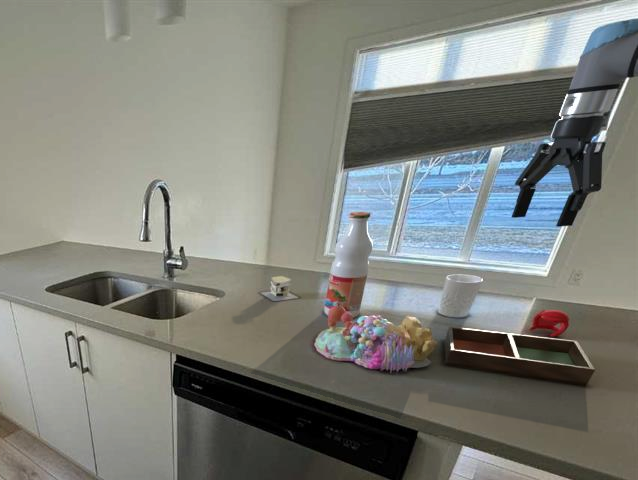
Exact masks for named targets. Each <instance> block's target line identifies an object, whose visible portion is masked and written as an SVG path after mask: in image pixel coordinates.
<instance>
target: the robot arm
mask: <svg viewBox="0 0 638 480" xmlns="http://www.w3.org/2000/svg"><path fill="white" fill-rule="evenodd" d="M573 74H574V75H573V77H572V79H571V83H570V86H569V88H568V90H567V93H566V96H565V99H564V100H563V104H562V106H561V108H560V112H559V114H558V115H559V116H560V117H561V119H558V120H557V121H555V124H554V127H553V130H552V132H551V133H550V134H551V135H550V139H552V140H553V141H552V142H551V141H550V142H542V143H539V146H538V148H537V150H536V152H535V154H534V155H533V157H532V158H531V160H530V161H529V162H528V164H527V165H526V166H525V168H524V169H523V171H522V172H521V174H520V175H519V176H518V178H517V179H516V180H515V182H514V186H518V188H519V192H518V195H517V198H516V203H515V206H514V208H513V211H512V213H511V218H513V219H514V218H515V219H517V218H526V216H527V213H528V210H529V208H530V205H531V202H532V200H533V197H534V195H535V192H536V189H537V188H536V187H537V184H538V183H539V182H540V181H541V180H543V178H544V177H546V176H547V175H548V174H549V173H550V172H551V171H552V170H553V169H554V168H555V167H557V166H560V167H564V168H565V169H567V170H568V174H569V179H570V183H571V187H572V192H571V193H570V194H568V197H567V199H566V201H565V204H564V206H563V208H562V210H561V213H560V215H559V217H558V220H557V223H556V225H555V227H558V228H559V227H572V226H573V224H574V222H575V220H576V218H577V215H578V213H579V211H581V210H582V209H583V206H584V204H585V201H586V199H587V197H588V195H589V194H592V193H595V192H597V193H598V192H600V191H601V189H602V182H603V180H602V178H603V177H602V175H603V153H604V150H605V147H606V143H607V142H606V141H603V140H602V141H593V140H592V139H593V138H594V137H596V136H598V135H599V134H600V132H601V130H602V128H603V125H604V123H605V121H606V118H607V117H606V115H604V114H605V113H608V112H609V111H610V110H611V108H612V105H613V103H614V100H615V98H616V95H617V94H618V91H619V89H620V85H621V83H622V81H623V79H627V78H628V79H630V78H631V79H633V78H637V77H638V18H631V19H630V18H629V19H625V20H618V21H614V22H610V23H605V24H603V25H600V26H598V27H597V28H595V29H594V30H593V31H592V32H591V33H590V35H589V37H588V39H587V41H586V43H585V46H584V49H583V50H582V53H581V55H580V56H579V60H578V62H577V66H576V69H575V72H574V73H573Z"/></svg>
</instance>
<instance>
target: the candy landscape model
mask: <svg viewBox="0 0 638 480" xmlns="http://www.w3.org/2000/svg"><path fill="white" fill-rule="evenodd" d="M353 319H354V318H353V316H352V314H351V313H346V311H345V309H344V308H343V307H342V306H338V305H337V306H334V307H332V308H331V309H330V310H329V312H328V315H327V326H328V327H329V328H326V329H324V330H322V331H321V332H319V333H318V335H317V337H316V338H315V342H314V344H313V345H314V347H315V349H316V351H317V353H319V354H321V355H322V356H324V357H325V358H327V359H330V360H332V361H339V362H342V361H343V362H344V361H345V362H354V363H355V364H357V365H359V366H362V367H364V368H366V369H370V370H380V372H381V371H384V370H386V371H389V370H390V371H389V373H390V374H391V373H392V371H396V372H397V373H398V372H399V370H402V371H404V372H407V370H408V369H410V368H411V369H412V368H415V369H419V368H424V367H425V368H426V367H427V366H428V365H430V364H431V363H432V361H431V360H430V359H428V357H429V356H430V355H431V353H432V352H433V351H434V349H435V348H436V345H437V344H438V342H437V340H436V339H433V338H432V334H433V331H432V329H430V328H428V327H424V328H423V327H422V324H421V322H420V320H419V319H418V318H417V317H415V316H409V315H406V316H405V317H404V319H403V320H402V322H401V324H399V325H397V326H395V325H394V323H392V322H391V321H388V320H387V319H386V318H382V316H381V315H376V316H375V315H369V316H367V315H362V316H360V317H359V318H358V319H357V320H356V321H355V322H354V323H353V322H352V321H353ZM340 321H341V322H342V323H344V327H343V326H342V327H341V326H340V327H335V326H336V325H337V323H338V322H340Z"/></svg>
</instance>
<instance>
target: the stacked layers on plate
mask: <svg viewBox="0 0 638 480" xmlns="http://www.w3.org/2000/svg"><path fill="white" fill-rule="evenodd" d="M270 279H271V281H270V283H271V286H270V287H269V288H270V291H263V292H260V294H261V295H263V296H264V297H266V298H268V299H269V300H270V301H273V302H279V301H286V300H293V299H299V297H298V296H297V295H295V294H293V293H291V292H290V291H291V289H290V286H291V285H292V284H291V282H290V281H292V279H291V278H288V277H287V276H286V277H285V276H283V275H280V276H279V275H277V276H272V277H270Z"/></svg>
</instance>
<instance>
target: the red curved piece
mask: <svg viewBox="0 0 638 480" xmlns="http://www.w3.org/2000/svg"><path fill="white" fill-rule="evenodd" d="M569 322H570V318H569V316H568V315H567V314H566V313H565V312H563V311H561V310H557V309H556V310H555V309H551V310H545V309H543V310H541V311H539V312H538V313H536V315H535V316H533V320H532V326H531V327H530V328H529V331H534V330H539V329H540V330H541V329H542V330H549V331H553V332H552V333H551V334H550V335H549V336H550V338H554V337H558V336H560V335H562V334H563V333H565V332H566V331H567V329H568V328H569V325H570V323H569ZM559 324H560V325H559ZM557 325H559V327H556V326H557Z"/></svg>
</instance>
